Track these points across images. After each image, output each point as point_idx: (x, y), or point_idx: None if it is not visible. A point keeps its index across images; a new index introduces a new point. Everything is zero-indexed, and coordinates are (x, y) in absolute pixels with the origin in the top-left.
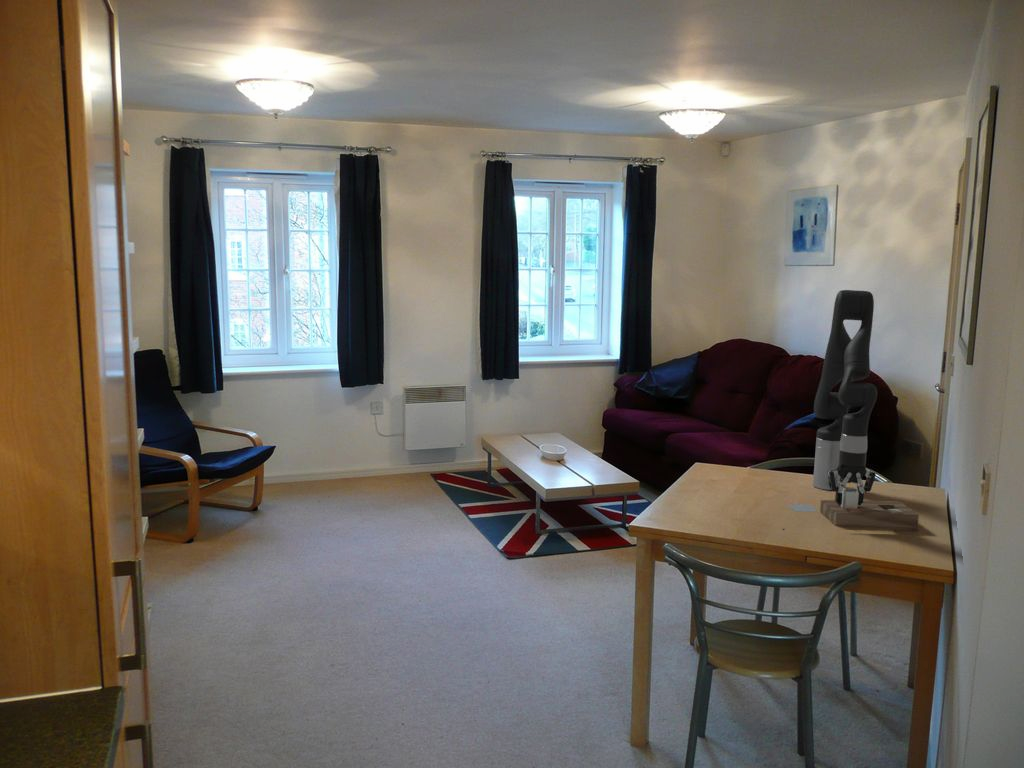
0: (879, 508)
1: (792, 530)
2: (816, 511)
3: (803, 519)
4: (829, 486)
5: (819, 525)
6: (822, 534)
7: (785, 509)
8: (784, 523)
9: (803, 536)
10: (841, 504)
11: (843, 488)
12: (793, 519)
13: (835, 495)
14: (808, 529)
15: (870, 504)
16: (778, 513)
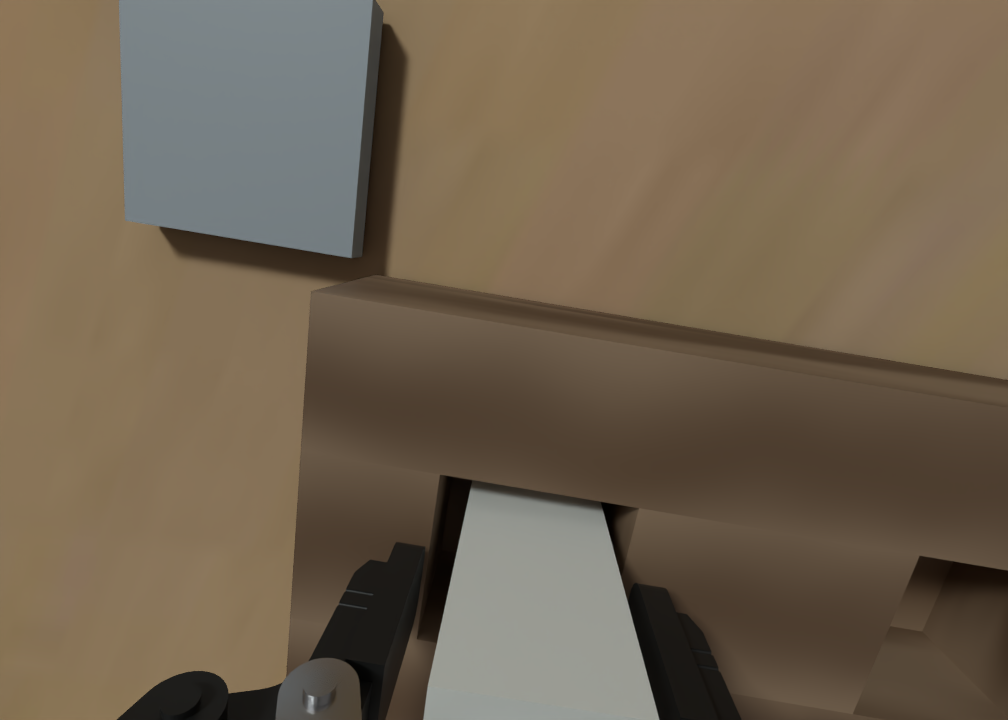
0: (834, 676)
1: (29, 580)
2: (341, 247)
3: (193, 351)
4: (133, 716)
5: (269, 505)
6: (215, 673)
7: (114, 19)
8: (6, 432)
9: (73, 689)
10: (414, 617)
11: (454, 689)
12: (106, 343)
13: (329, 622)
14: (152, 575)
15: (841, 541)
16: (12, 155)
